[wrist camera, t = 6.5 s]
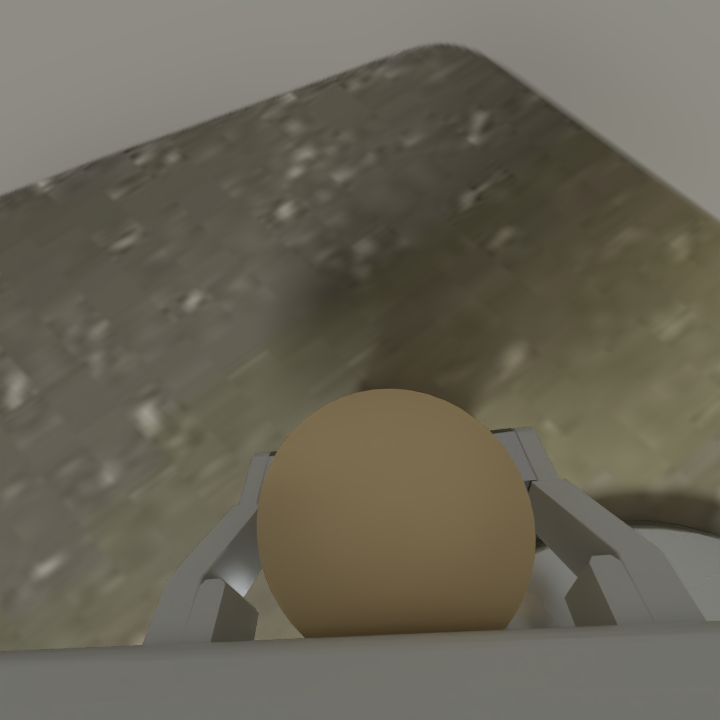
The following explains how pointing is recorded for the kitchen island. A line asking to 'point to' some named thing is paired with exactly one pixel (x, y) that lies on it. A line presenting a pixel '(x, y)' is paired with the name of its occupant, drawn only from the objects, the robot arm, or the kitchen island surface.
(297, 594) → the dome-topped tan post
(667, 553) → the collar
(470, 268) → the kitchen island surface
